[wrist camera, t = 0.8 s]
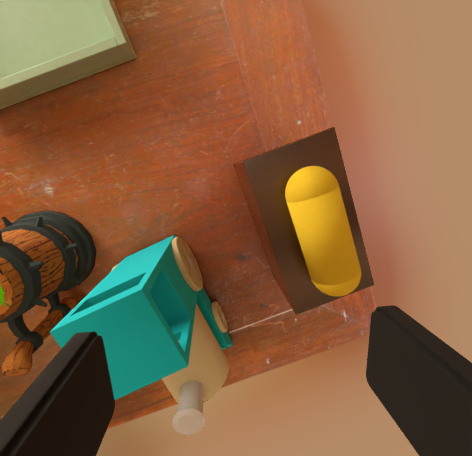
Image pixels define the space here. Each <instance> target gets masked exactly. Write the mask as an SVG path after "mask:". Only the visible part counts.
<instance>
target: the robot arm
mask: <svg viewBox="0 0 472 456" xmlns="http://www.w3.org/2000/svg"><path fill="white" fill-rule="evenodd" d="M366 377H367V381H368V384H369V386H370V387H371V389H372V390H373V391H374V393H375V394H376V396H377V397H378V398H379V400H380V401H381V403H382V404H383V405H384V407H385V408H386V409H387V411H388V412H389V414H390V415H391V417H392V418H393V419H394V420H395V422H396V423H397V425H398V426H399V428H400V429H401V430H402V432H403V433H404V435H405V436H406V438H407V439H408V440H409V442H410V443H411V445H412V446H413V447H414V449H415V450H416V452H417V453H418V454H419V456H472V363H471V362H470V361H468V360H467V359H466V358H464V357H463V356H462V355H460V354H459V353H458V352H456V351H455V350H454V349H452V348H451V347H450V346H448V345H447V344H446V343H445V342H443V341H442V340H441V339H439V338H438V337H437V336H435V335H434V334H433V333H431V332H430V331H429V330H427V329H426V328H425V327H423V326H422V325H421V324H419V323H418V322H416V321H415V320H414V319H413V318H411V317H410V316H409V315H407V314H406V313H405V312H403V311H402V310H401V309H399V308H398V307H396V306H382V307H377V308H376V310H375V311H374V312H372V315H371V325H370V336H369V348H368V358H367V369H366ZM114 407H115V400H114V395H113V390H112V384H111V379H110V374H109V368H108V363H107V358H106V353H105V347H104V342H103V338H102V336H98V335H97V333H96V332H82V333H76V334H74V335H73V336H72V337H71V338H70V340H69V341H68V342H67V343H66V344H65V345H64V347H63V348H62V349H61V350H60V351H59V352H58V354H57V355H56V356H55V357H54V358H53V360H52V361H51V362H50V363H49V364H48V365H47V367H46V368H45V369H44V370H43V371H42V372H41V374H40V375H39V376H38V377H37V378H36V380H35V381H34V382H33V383H32V384H31V385H30V387H29V388H28V389H27V390H26V391H25V392H24V394H23V395H22V396H21V397H20V398H19V399H18V401H17V402H16V403H15V404H14V405H13V407H12V408H11V409H10V410H9V411H8V412H7V414H6V415H5V416H4V417H3V418H2V419H1V421H0V456H96V454H97V452H98V449H99V447H100V444H101V442H102V439H103V437H104V434H105V432H106V430H107V427H108V425H109V423H110V420H111V418H112V415H113V412H114Z"/></svg>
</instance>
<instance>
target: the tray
mask: <svg viewBox="0 0 472 456" xmlns="http://www.w3.org/2000/svg"><path fill="white" fill-rule="evenodd" d="M136 58H137V57H136V54H135V52H134V49H133V47H132V45H131V42H130V40H129V37H128V35H127V32H126V30H125V27H124V25H123V23H122V20H121V18H120V15H119V13H118V10H117V8H116V5H115V3H114V1H113V0H0V109H3V108H6V107H8V106H11V105H14V104H16V103H19V102H21V101H24V100H27V99H29V98H32V97H35V96H37V95H40V94H43V93H45V92H48V91H51V90H53V89H56V88H59V87H61V86H64V85H67V84H69V83H72V82H75V81H77V80H80V79H83V78H85V77H88V76H91V75H93V74H96V73H99V72H101V71H104V70H106V69H109V68H112V67H114V66H117V65H120V64H122V63H125V62H128V61H130V60H133V59H136Z"/></svg>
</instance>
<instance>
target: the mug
mask: <svg viewBox="0 0 472 456" xmlns="http://www.w3.org/2000/svg"><path fill="white" fill-rule="evenodd" d="M2 221H3V223H4V225H5V228H4V229H2V230H0V323H3V322H8V325H9V328H10V329H11V331H12V332H13V333H14V335H15V336H16V337H18V338H20V339H19V340H18V341H17V342H16V346H15V347H14V348H13V349H12V351H11V352H10V353H9V354H8V356H7V357H6V359H5V360H4V362H3V365H2V372H3V374H4V376H10V377H11V376H20V375H24V374H26V373H28V372H29V371H30V369H31V367H32V354H33V353H34V352H35V351H36V350H37V349H38V348H39V347H40V346H41V345H42V344H43V340H44V339H45V338H46V337H48V336H49V335H50V334H51V333H50V331H51V330H52V329H53V328H54V327H55V326H56V325H57V324H58V323H59V322H60V321H61V320H62V319H63V318H64V317H65V316H66V315H67V314H68V313H69V312H70V311H71V310H72V309H73V308H74V307H75V306H76V305H77V304H78V301H77V300H76V299H75V298H73V297H69V298H64V299H63V300H62V301H61V302H60V300H59V295H58V292H60V291H65V290H70V289H71V288H73V287H75V286H76V285H80V283H81V282H82V281H84V280H85V279H86V278H87V276H88V275H89V273H90V272H91V270H92V269H93V267H94V264H95V256H96V249H95V246H94V243H93V240H92V237H91V235H90V234H89V233H88V231H87V230H86V229H85V228H84V227H83V225H82V224H81V223H80V222H78V221H76V220H75V219H73V218H71V217H70V216H68V215H66V214H63V213H58V212H53V211H42V212H36V213H31V214H26V215H24V216H22V217H21V218H19V219H18V220H16V221H15V222H13V223H11V222H10V221H9V220H8V219H7V218H5V217H2ZM43 298H47V299H48V301H49V303H50V305H51V309H50V310H49V311H48V313H49V314H48V316H47V317H46V318H45V319H44V320H43V321H42V322H41V323H40V324H39V325H38V326H37V327H36V328H35V329H34V330H33V331H32V332H30V330H29V329H28V328H27V327H26V325H25V323H24V320H23V315H22V314H24V313H25V312H27V311H28V310H30V309H31V308H32V307H34V306H35V304H36V305H40V306H43V307H46V306H47V304H46V303H45V302H44V301H42V300H41V299H43Z"/></svg>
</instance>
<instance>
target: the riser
mask: <svg viewBox="0 0 472 456" xmlns="http://www.w3.org/2000/svg"><path fill="white" fill-rule="evenodd" d="M308 166H319V167H322V168H325V169H327V170H328V171H330V172H331V173H332V174H333V175H334V176H335V178H336V179H337V181H338V184H339V188H340V191H341V195H342V199H343V203H344V207H345V211H346V214H347V218H348V222H349V226H350V230H351V233H352V237H353V241H354V245H355V249H356V252H357V256H358V260H359V264H360V268H361V279H360V282H359V284H358V286H357V287H356V288H355V290H354V291H352V292H351V293H349V294H352V293H354V292H357V291H359V290H362V289H365V288H367V287H370V286H372V285H374V282H373V278H372V274H371V271H370V266H369V263H368V258H367V255H366V251H365V247H364V243H363V239H362V235H361V231H360V227H359V223H358V219H357V215H356V211H355V207H354V203H353V199H352V195H351V191H350V187H349V183H348V180H347V176H346V171H345V167H344V163H343V159H342V155H341V151H340V148H339V144H338V140H337V136H336V132H335V128H334V127H332V128H329V129H327V130H324V131H321V132H319V133H316V134H313V135H310V136H308V137H305V138H302V139H300V140H297V141H294V142H292V143H289V144H286V145H284V146H281V147H278V148H276V149H273V150H270V151H268V152H265V153H263V154H260V155H257V156H255V157H252V158H249V159H247V160H244V161H241V162H239V163H236V164H234V167H235V169H236V172H237V175H238V178H239V181H240V183H241V186H242V189H243V192H244V195H245V197H246V200H247V203H248V206H249V209H250V211H251V214H252V217H253V220H254V223H255V225H256V228H257V231H258V234H259V236H260V239H261V242H262V245H263V248H264V250H265V253H266V256H267V259H268V262H269V264H270V267H271V270H272V273H273V276H274V278H275V279H276V281H277V283H278V285H279V286H280V288H281V290H282V292H283V293H284V295H285V297H286V298H287V300H288V302H289V304H290V305H291V307H292V309H293V311H294V312H295V314H299V313H302V312H304V311H307V310H310V309H312V308H315V307H318V306H320V305H323V304H325V303H328V302H331V301H333V300H336V299H338V298H341V297H344V296H346V295H344V296H338V297H337V296H330V295H327V294H325V293H323V292H321V291H320V290H319V289H318V288H316V286H315V285H314V284H313V282H312V280H311V277H310V274H309V271H308V268H307V265H306V262H305V258H304V255H303V252H302V249H301V246H300V243H299V240H298V236H297V233H296V230H295V227H294V224H293V221H292V218H291V214H290V211H289V208H288V205H287V202H286V198H285V189H286V185H287V183H288V180H289V179H290V177H291V176H292V175H293V174H294V173H295V172H297V171H298V170H300V169H302V168H304V167H308ZM349 294H347V295H349Z"/></svg>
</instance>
